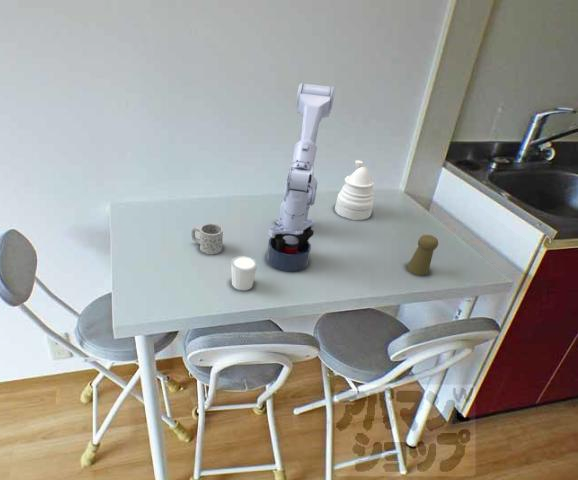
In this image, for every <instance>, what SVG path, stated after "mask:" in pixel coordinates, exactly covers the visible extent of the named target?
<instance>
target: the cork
mask: <svg viewBox="0 0 578 480" xmlns="http://www.w3.org/2000/svg"><path fill="white" fill-rule="evenodd" d="M417 245H418V246H417V248H416V250H415V252H414V253H413V255H412V257H411V259H410V261H409V262H408V264H407V266H406V269H407V271H409V272H410V273H411V274H413V275H417V276H422V277H423V276H427V275H428V274H429V272H430V267H431V263H432V259H433V255H434V251H435V250H436V249H437V248H438V246H439V239H438V238H437V237H436V236H434V235H431V234H423V235H421V236H420V237H419V238H418V241H417Z"/></svg>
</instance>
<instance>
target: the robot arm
mask: <svg viewBox="0 0 578 480" xmlns="http://www.w3.org/2000/svg"><path fill="white" fill-rule="evenodd" d="M335 94H336V88H335V86H334V85H331V86H328V85H319V84H309V83H304V82H301V83H299V85H298V88H297V94H296V99H295V100H296V101H295V106H296V111H297V114H299V115H301V116H302V125H301V135H300V140H298V141H297V142H296V143H295V145H294V149H293V155H292V160H291V165H290V168H288V171H287V176H286V181H285V186H284V191H283V197H282V198H283V201H282V202H281V203H280V206H279V214H278V220H277V221H275V223H276V224H277V225H275V226H273V227H271V228H268V233H267V234H268V235H267V236H269V239H270V238H271V240H272V243H273V247H274V249H275V250H277V251H279V252H281V253H282V248H283V245H284V243H285V241H286V240H284V239H283V236H282V234H295V235H297V238H298V239H299V243H298V251H299V252H302V250H303V248H304V246H305V244H306V243H307V241H309V240H310V239H311V237H312V236H313V235H314V231H313V230H312V229H315V227H316V221H314V220H313V219H311V218H310V219H308V217H309V211H310V209H311V208H310V207H311V206H313V205H315V201H316V196H317V189H318V180H317V178H315V177H314V175H315V174H314V168H315V167H314V166H315V159H316V154H317V150H318V149H317V148H318V147H317V145H316V142H317V137H318V131H319V126H320V123H321V121H322V119H324V118H328V117H329V116H330V114H331V111H332V109H333V103H334V98H335Z"/></svg>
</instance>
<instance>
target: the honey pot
mask: <svg viewBox="0 0 578 480" xmlns="http://www.w3.org/2000/svg"><path fill="white" fill-rule="evenodd" d="M363 164H364V161H362V160H360V159H356V160H355V162H354V165H355V168H356V169H355V170H354V171H353V172H352V173H351V174H349V175H347V176H346V177H345V178H344V182H345V183H344V184H343V186H342V188H341V189H340V192H338V194H337V198H336V202H335V206H334V211H335V213H336V214H337V215H339V216H340V217H342V218H345V219H349V220H354V221H363V220H367V219H369V218H370V217H371V215H372V211H373V208H374V204H375V196H374V193H375V191H374V186H375V182H374V180H373V179H372V175H371V172H370V170H369V169H368V167H366V166H364V165H363Z"/></svg>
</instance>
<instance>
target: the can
mask: <svg viewBox="0 0 578 480" xmlns="http://www.w3.org/2000/svg"><path fill="white" fill-rule="evenodd" d="M283 239H284V240H286V241H285V243H284V245H283V248H282V253H285V254H291V255H295V254H297V250H298V243H299V239H298V238H297V237H295V236H284V237H283Z"/></svg>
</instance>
